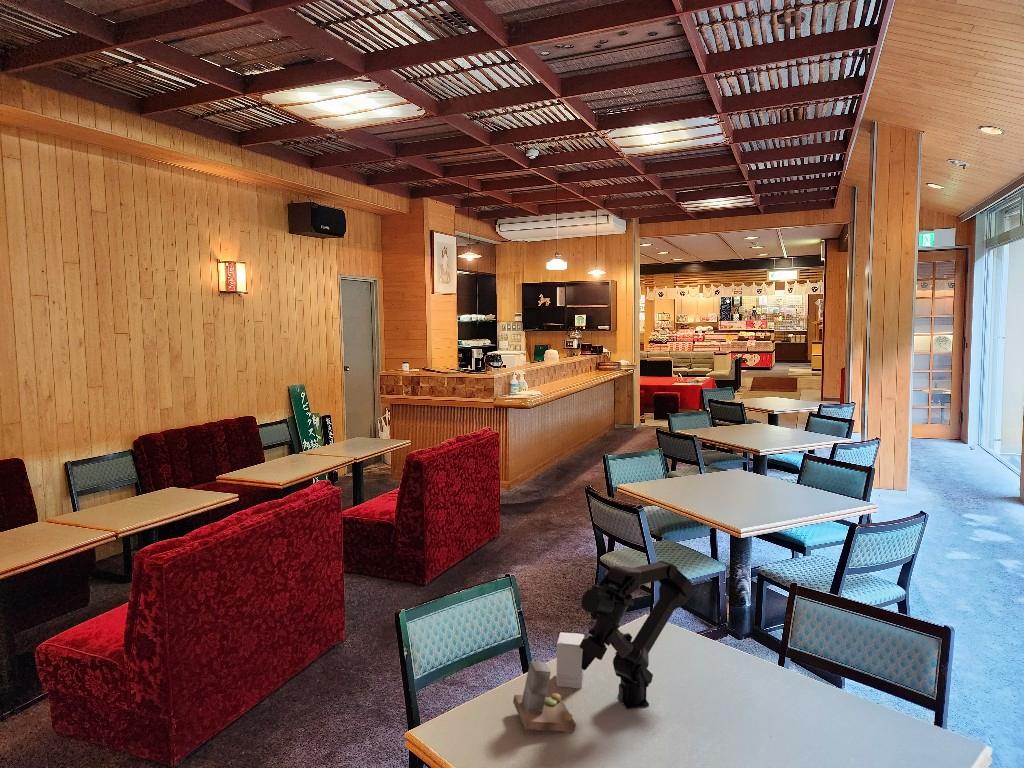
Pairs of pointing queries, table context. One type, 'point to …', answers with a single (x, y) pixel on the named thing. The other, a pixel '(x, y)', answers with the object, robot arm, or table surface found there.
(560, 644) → the supplement box
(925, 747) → the table surface
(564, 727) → the wooden base with pillar
